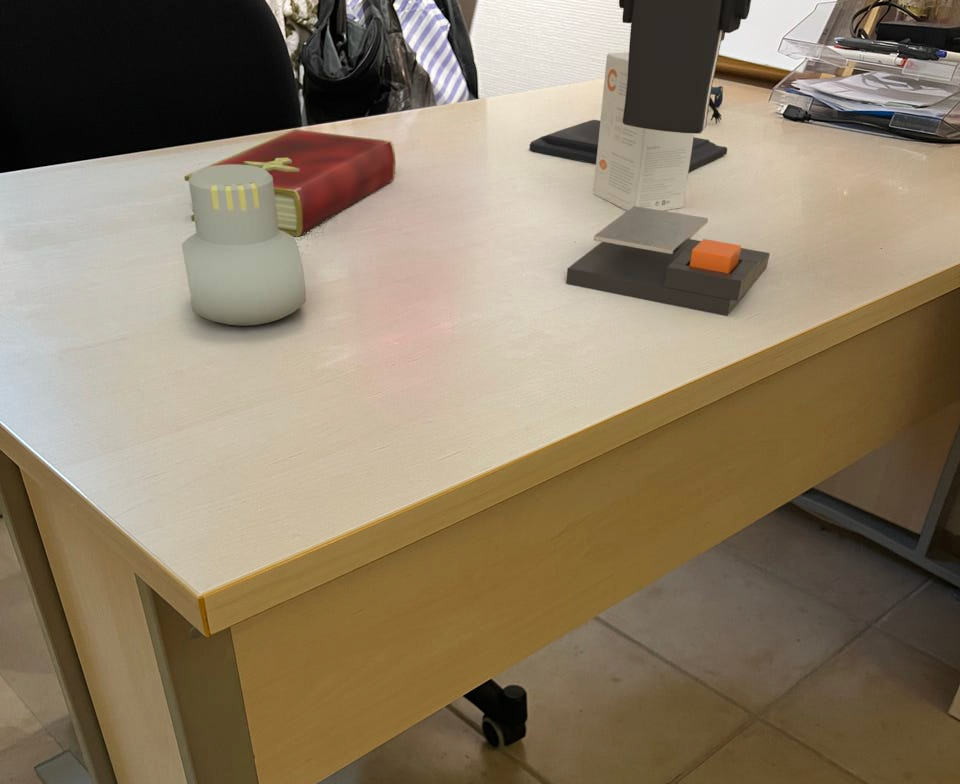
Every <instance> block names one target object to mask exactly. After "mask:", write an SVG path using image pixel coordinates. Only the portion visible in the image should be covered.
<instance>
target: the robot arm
mask: <svg viewBox="0 0 960 784" xmlns="http://www.w3.org/2000/svg"><path fill="white" fill-rule="evenodd" d="M751 3H752V0H725V1H724V7H723V13H722V20H721V26H720V30H722V32H724V33H725V34H731V33H733V32H735V31H737V30H739V29H740V27H741V23H742V20H747V18H748V17H749V13H750V9H751ZM633 4H634V0H618V6H619V9H622V18H621V19H622V23H624V24H631V21H632V12H633Z"/></svg>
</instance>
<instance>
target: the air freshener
mask: <svg viewBox="0 0 960 784" xmlns="http://www.w3.org/2000/svg"><path fill="white" fill-rule="evenodd" d="M205 167H206V168H205ZM205 167H202V168H200V169H197V170H195V171H193V172H194V173H193V172H192V173H193V174H192V175H191V177H190V178H189V181H188V185H189V186H188V187H189V192H190V199H191V205H192V211H193V212H192V213H193V215H194V219H195V221H194V225H195V226H194V227H195V231H196V233H194V234H193V235H191V236H189V237H188V238H186V239H185V240H184V241H183V242H182V243H181V248H182V253H183V259H184V265H185V271H186V276H187V283H188V289H189V295H190V300H191V306H192V312H193V313H194V314H196V315H197V316H200V317H201V318H204V319H207V320H208V321H212V322H215V323H218V324H222V325H228V326H238V327H241V326H242V327H243V326H246V327H247V326H248V327H250V326H259V325H265V324H269V323H273V322H276V321H279V320H282V319H283V318H285V317H287V316H289V315H291V314H293V313H295V312H296V311H297V310H299V309H300V308H301V307H302V306H303V305H304V304H305V303H306V300H307V289H306V281H305V274H304V266H303V261H302V258H301V253H300V249H299V246H298V243H297V240H296V239H295V236H291V235H290V234H288V233H286V232H284V231H282V230H279V229H278V220H277V212H276V203H275V194H274V186H273V178H272V176H271V175H270V174H269V173H268V172H267V171H266V170H265V169H262V168H260V167H256V166H250V165H237V164H232V165H217V166H210V167H207V166H205Z"/></svg>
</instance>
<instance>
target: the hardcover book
mask: <svg viewBox="0 0 960 784" xmlns="http://www.w3.org/2000/svg"><path fill="white" fill-rule="evenodd" d="M232 164H237V165H250V166H256V167H260V168H262V169H265V170H266V171H267V172H268V173H269V174H270V175H271V176H272V178H273V186H274V194H275V203H276V212H277V220H278V229H279V230H282V231H284V232H286V233H288V234H290V235H291V236H293V237H301V236H302V235H303V234H305V233H307V232H309V231H310V230H313V229H314V228H316V227H317V226H319V225H321V224H322V223H324V222H325V221H328V220H329V219H331V218H332V217H334V216H336V215H337V214H340V213H341V212H342V211H344V210H346V209H348V208H349V207H351V206H353V205H354V204H356V203H358V202H359V201H361V200H363V199H364V198H366V197H368V196H369V195H371V194H373V193H374V192H376V191H377V190H379V189H381V188H384V187H385V186H386V185H388V184H390V183H392V182H393V181H394V179H395V176H396V151H395V147H394V144H393V141H392V140H387V139H378V138H372V137H371V138H370V137H361V136H354V135H345V134H337V133H329V132H321V131H313V130H304V129H292V130H290V131H287V132H285V133H283V134H281V135H278V136H276V137H273V138H271V139H268V140H266V141H264V142H261V143H259V144H256V145H254V146H252V147H250V148H247V149H245V150H243V151H240V152H238V153H236V154H233V155H231V156H229V157H226V158H224V159H221V160H219V161H217V162H214V163H212V164H209V165H207V166H205V167H204V168H206V167H210V166H217V165H232ZM194 172H195V171H193V172H191V173H188V174H186V175H184V182H185V181H186V182H189V178H190V177H191V175H192V174H193V173H194ZM190 219H191V221H194V222H195V219H194V214H192V215H190Z"/></svg>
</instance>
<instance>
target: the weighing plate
mask: <svg viewBox="0 0 960 784" xmlns="http://www.w3.org/2000/svg"><path fill="white" fill-rule="evenodd" d="M708 220H709V218H708V217H703V216H696V215H691V214H685V213H679V212H672V211H668V210H664V211H661V210H655V209H649V208H643V207H637V206H633V207H632V208H631V209H629V210H628V211H627V210H626V211H625V212H624V213H623V214H621V215H620V216H618V217H617V218H615V220H613V221H612V222H611V223H609V224H607V226H605V227H604V228H603V229H600V231H598V232H597V233H595V234H594V235H593V241H595V242H596V241H597V242H600V243H601V242H606V243H611V244H617V245H622V246H628V247H633V248H639V249H644V250H650V251H655V252H661V253H666V254H672V255H673V254H674V253H675V252H676V251H677V250H678V249H679V248H680V247H682V246H683V245H684V244H685V243H686V242H687V241H688V240H689V239H692V238H693V237H694V236H695V235H696V234H697V233H698V232H699V231H700V230H701V229H702V228H703V227H704V226H706V224H708V222H709V221H708Z"/></svg>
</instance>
